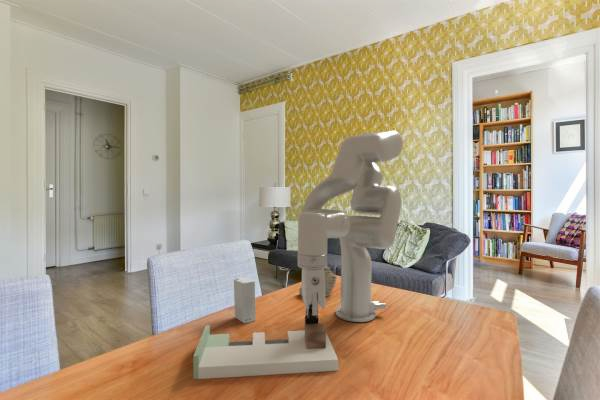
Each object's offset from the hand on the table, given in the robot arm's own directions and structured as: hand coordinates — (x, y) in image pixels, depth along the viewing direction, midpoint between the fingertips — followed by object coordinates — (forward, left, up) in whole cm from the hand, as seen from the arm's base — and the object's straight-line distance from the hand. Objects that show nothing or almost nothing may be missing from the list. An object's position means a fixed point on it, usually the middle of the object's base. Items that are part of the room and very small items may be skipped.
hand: (311, 331), depth 82 cm
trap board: (+11, +4, -4) cm, 12 cm away
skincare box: (+18, -18, -4) cm, 26 cm away
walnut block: (0, +4, -1) cm, 5 cm away
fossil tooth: (-9, -39, -4) cm, 40 cm away
